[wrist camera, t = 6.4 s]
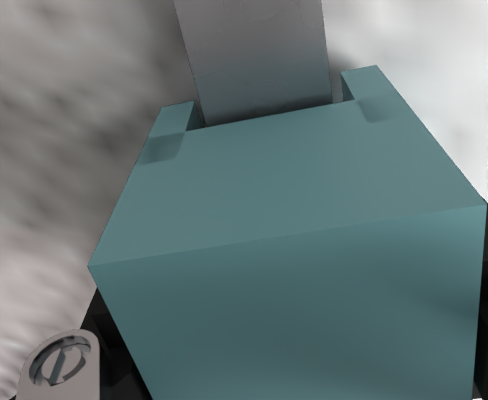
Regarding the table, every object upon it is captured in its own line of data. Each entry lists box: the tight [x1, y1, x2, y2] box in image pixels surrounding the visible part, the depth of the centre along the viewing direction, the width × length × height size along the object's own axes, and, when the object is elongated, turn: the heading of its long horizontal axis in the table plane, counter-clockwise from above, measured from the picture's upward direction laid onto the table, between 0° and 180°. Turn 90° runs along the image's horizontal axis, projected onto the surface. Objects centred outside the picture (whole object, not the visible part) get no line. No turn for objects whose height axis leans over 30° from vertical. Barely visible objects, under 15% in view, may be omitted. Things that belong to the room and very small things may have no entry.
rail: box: [173, 0, 333, 127], centre depth 10 cm, size 21×5×3 cm, turn 12°
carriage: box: [87, 65, 487, 400], centre depth 10 cm, size 6×5×6 cm
